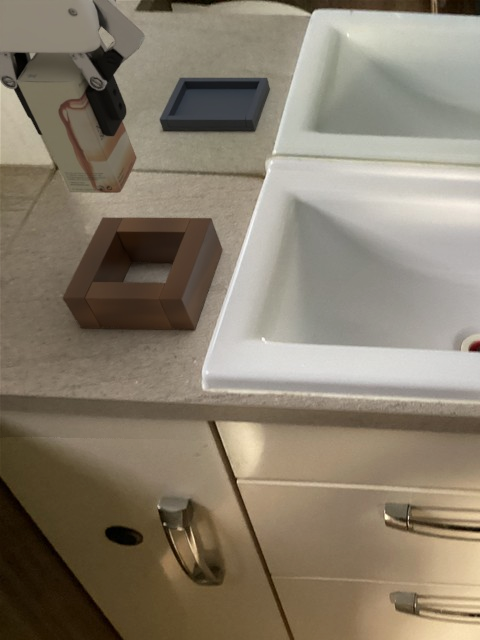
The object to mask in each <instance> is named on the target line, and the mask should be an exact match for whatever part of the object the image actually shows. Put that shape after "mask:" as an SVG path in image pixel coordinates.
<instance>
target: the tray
mask: <svg viewBox="0 0 480 640" xmlns="http://www.w3.org/2000/svg"><path fill="white" fill-rule="evenodd" d="M270 89H271V86H270V84H269V79H268V77H179V78H178V80H177V82H176V85H175V86H174V89H173V91H172V93H171V95H170V97H169V99H168V101H167V103H166V105H165V107H164V109H163V111H162V113H161V115H160V116H159V122H160V125H161V128H162V130H163V131H164V130H165V131H166V130H167V131H168V132H170V131H171V130H172V131H174V132H175V131H176V132H177V131H178V132H182V131H183V132H185V131H186V132H188V131H189V132H191V131H192V132H193V131H195V132H199V131H200V132H255V131H256V129H257V126H258V123H259V120H260V117H261V116H262V115H261V114H262V112H263V109H264V107H265V103H266V101H267V98H268V95H269V93H270ZM169 130H170V131H169ZM165 131H164V132H165ZM172 131H171V132H172Z"/></svg>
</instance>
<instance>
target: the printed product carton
mask: <svg viewBox="0 0 480 640" xmlns="http://www.w3.org/2000/svg"><path fill="white" fill-rule="evenodd" d="M17 83H18V85H19V87H20V89H21V91H22V93H23V96H24V98H25V100H26V102H27V104H28V106H29V108H30V110H31V112H32V114H33V116H34V118H35V120H36V122H37V125H38V127H39V129H40V131H41V133H42V135H41V136H42V137H43V139H44V141H45V143H46V145H47V148H48V150H49V151H50V154H51V155H52V156H51V157H53V160H54V162H55V164H56V166H57V168H58V170H59V172H60V175H61V176H62V178H63V180H64V183H65V185H66V187H67V189H68V191H69V192H70V193H89V194H90V193H91V194H108V193H109V194H112V193H113V194H116V193H117V194H118V193H121V192H122V190H123V188H124V187H125V185H126V183H127V181H128V179H129V177H130V174H131V173H132V171H133V168H134V166H135V163H136V161H137V155H136V153H135V150H134V147H133V144H132V142H131V139H130V137H129V134H128V132H127V130H126V126H125V123H124V122H123V121H124V120H123V121H122V122H121V124H120V126H119V128H118V130H117V132H116V134H115V135H114V136H106V135H105V134H103V133H102V131H101V128H100V126H99V124H98V121H97V119H96V117H95V115H94V112H93V110H92V108H91V105H90V103H89V101H88V98H87V96H86V91H87V89H88V87H89V86H90V85H89V84H88V82H87V81H86V79H85V78H84V76H83V75H82V73H81V72H80V70H79V69H78V67H77V66H76V65H75V63H74V62H73V60H72V59H71V57H70V56H69V54H68V53H34V54H33V56H32V57H31V60H30V61H29V62H28V64H27V65H26V67H25V69H24V70H23V72H22V73H21V75H20V76H19V78H18V80H17Z"/></svg>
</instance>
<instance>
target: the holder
mask: <svg viewBox="0 0 480 640" xmlns="http://www.w3.org/2000/svg"><path fill="white" fill-rule="evenodd" d="M222 252H223V246H222V244H221V241H220V238H219V235H218V232H217V229H216V227H215V224H214V222H213V218H212V217H139V216H137V217H133V216H131V217H130V216H129V217H127V216H124V217H110V216H109V217H102V218H101V220H100V221H99V224H98V226H97V228H96V229H95V232H94V234H93V235H92V238H91V240H90V242H89V243H88V245H87V248H86V250H85V251H84V253H83V255H82V257H81V260H80V261H79V264H78V266H77V268H76V269H75V272H74V274H73V276H72V278H71V279H70V282H69V284H68V286H67V288H66V289H65V292H64V294H63V295H62V300H63V302H64V304H65V305H66V306H67V308H68V310H69V311H70V313H71V314H72V316H73V318H74V320H75V321H76V323H77V324H78V326H79V328H80V329H119V330H120V329H124V330H125V329H126V330H127V329H128V330H129V329H130V330H131V329H132V330H133V329H135V330H190V331H191V330H193V331H194V330H196V329H197V328H196V327H197V326H198V322H199V319H200V317H201V313H202V310H203V308H204V305H205V302H206V298H207V296H208V292H209V290H210V287H211V284H212V281H213V278H214V275H215V273H216V269H217V266H218V263H219V260H220V258H221V255H222ZM132 263H150V264H151V263H152V264H153V263H155V264H156V263H157V264H159V263H160V264H163V263H164V264H172V265H171V267H170V270H169V272H168V275H167V278H166V281H165V282H145V281H144V282H143V281H142V282H141V281H140V282H138V281H136V282H133V281H131V282H129V281H124V280H125V277H126V274H127V272H128V271H129V268H130V266H131V264H132Z"/></svg>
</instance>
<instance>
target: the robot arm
mask: <svg viewBox="0 0 480 640" xmlns="http://www.w3.org/2000/svg"><path fill="white" fill-rule="evenodd" d="M101 28H103V29H104V31H106V33H108V35H110V36H111V37H112V38H113V39H114V40H113V41H112V42H110V44H109V46H108V47H107V46H106V44H105V42H104V41H103V39H102V37H101V35H100V32H99V30H100V29H101ZM145 37H146V36H145V34H144V32H143V31H142V30H141V29H140V27H138V26H137V25H136V24H135V23H134V22H132V21H131V19H129V17H127V15H125V14H124V13H122V11H120V9H118V6H117V3H116V1H115V0H0V83H1V84H2V85H3V86H4V87H5V88H6V89H9V90H13V91H14V92H15V94H16V96H17V99H18V100H19V102H20V104H21V106H22V108H23V111H24V112H25V114H26V116H27V117H28V118H29V119H30V120H31V121H30V122H31V123H32V125H33V126H34V129H35V130H36V132H37V134H38V135H39V136H43V135H42V133H41V131H40V129H39V127H38V125H37V122H36V120H35V118H34V116H33V114H32V112H31V110H30V108H29V106H28V104H27V102H26V100H25V98H24V96H23V93H22V91H21V89H20V87H19V85H18V83H17V80H18V78H19V76H20V75H21V73H22V72H23V70H24V69H25V67H26V65H27V64H28V62H29V61H30V60H31V59H32V57H31V54H35V53H68V54H69V56H70V57H71V59H72V60H73V62H74V63H75V65H76V66H77V67H78V69H79V70H80V72H81V73H82V75H83V76H84V78H85V79H86V81H87V82H88V84H89V85H90V86H89V87H88V89H87V91H86V96H87V98H88V101H89V103H90V105H91V108H92V110H93V112H94V115H95V117H96V119H97V121H98V124H99V126H100V128H101V131H102V133H103V134H105V135H106V136H114V135H115V134H116V132H117V130H118V128H119V126H120V124H121V122H122V121H124V120H125V118H126V116H127V106H126V103H125V100H124V98H123V96H122V93H121V89H120V87H119V85H118V83H117V80H116V78H115V76H114V75H115V74H116V72H117V71H118V69H119V68H120V66H121V65H122V64H123V63H124V62H125V61H127V60H128V59H129V58H130V57H132V56H133V54H135V53H136V52H137V51H138V50H139V49H140V48H141V45H142V44H143V42H144V41H145V39H146V38H145Z"/></svg>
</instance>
